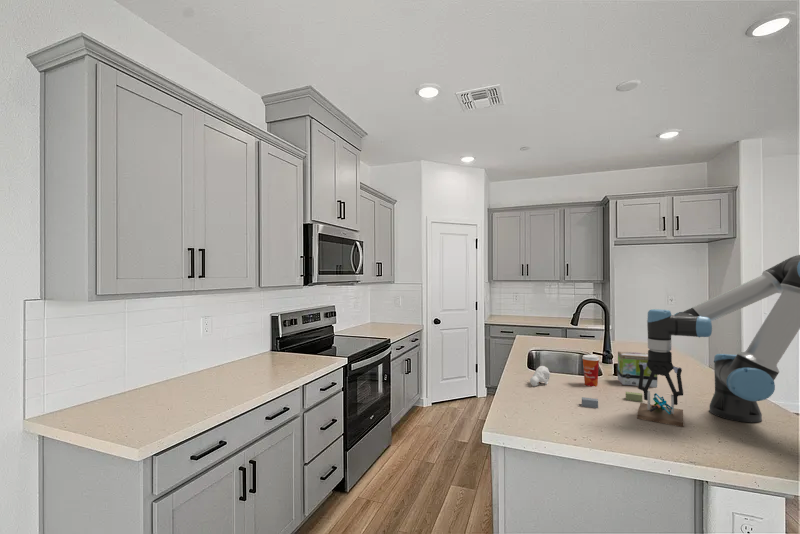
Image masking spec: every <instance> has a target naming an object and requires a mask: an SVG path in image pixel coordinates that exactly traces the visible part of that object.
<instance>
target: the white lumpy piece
mask: <svg viewBox="0 0 800 534" xmlns="http://www.w3.org/2000/svg"><path fill="white" fill-rule="evenodd" d="M550 376H551V372H550V371H549V368H548V367H547V366H545V365H539V366H538V367H537V368H536V369H535V371H534V374H532V376H531V377H530V378H529V383H530V384H531V385H532V387H537V386H539V384H540V383H539V382H541V383H544V385H546V384H549V380H550Z"/></svg>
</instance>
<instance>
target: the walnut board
mask: <svg viewBox="0 0 800 534" xmlns="http://www.w3.org/2000/svg"><path fill="white" fill-rule="evenodd" d="M653 405H654V404H651V403H650V410H651V409H652V408H651V406H653ZM653 408H654V407H653ZM664 408H665V409H666V410H667V411H668V412H669V410H668V408H667V407H666V406H664ZM665 409H664V410H663V411H662V409H661V408H657V409H655V410H654V411H652V412H650V411H649V410H648V405H647V403H643V402H639V407H638V410H637V413H636V418H637V419H638V420H643V421H648V422H656V423H660V424H665V425H669V426H671V425H672V426H675V425H676V427H682V428H684V409H679V408H675V407H674V414H668V413H667V412H666V411H665ZM669 409H671V408H670V407H669Z"/></svg>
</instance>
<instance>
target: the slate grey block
mask: <svg viewBox="0 0 800 534" xmlns="http://www.w3.org/2000/svg"><path fill="white" fill-rule="evenodd" d="M581 407H585V408H593V409H599V399H598V398H592V397H583V396H582V397H581Z"/></svg>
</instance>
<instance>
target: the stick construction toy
mask: <svg viewBox="0 0 800 534" xmlns="http://www.w3.org/2000/svg"><path fill="white" fill-rule="evenodd" d="M652 400H653V402H654V404H652V405H653V406H651V408H652V409H651V410H649V411H650V412H652V411H654V410H655V409H657V408H661V409H662V411H663V410H664V409H665V408H664V407H667V408H668V410H669V412H668V411H667V410H666V409H665V411H666V412H667V413H668V414H671V409H673V408H672V407H671V405H669V404H668V403H667V400H665V398H664V396H663V395H662V396H659V394H658V393H653V398H652ZM653 407H654V408H653ZM669 408H671V409H669Z"/></svg>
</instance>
